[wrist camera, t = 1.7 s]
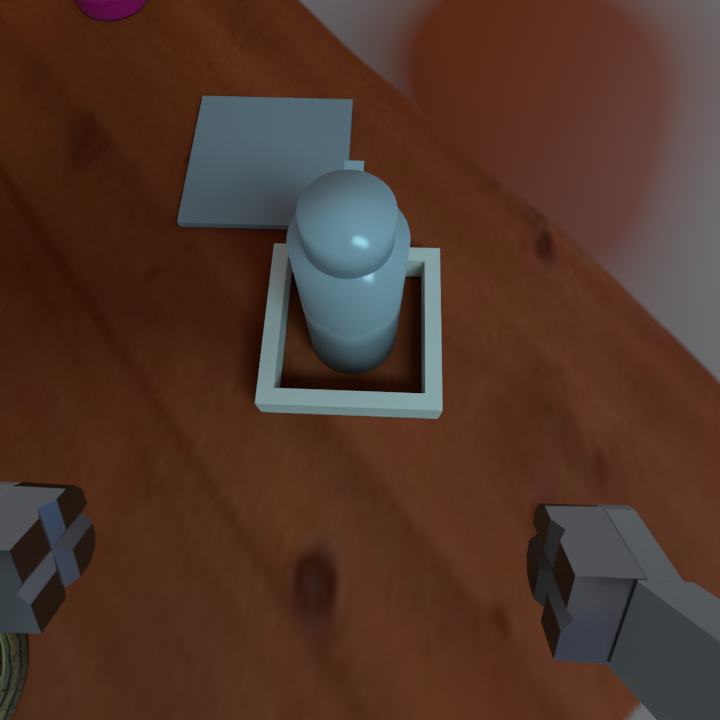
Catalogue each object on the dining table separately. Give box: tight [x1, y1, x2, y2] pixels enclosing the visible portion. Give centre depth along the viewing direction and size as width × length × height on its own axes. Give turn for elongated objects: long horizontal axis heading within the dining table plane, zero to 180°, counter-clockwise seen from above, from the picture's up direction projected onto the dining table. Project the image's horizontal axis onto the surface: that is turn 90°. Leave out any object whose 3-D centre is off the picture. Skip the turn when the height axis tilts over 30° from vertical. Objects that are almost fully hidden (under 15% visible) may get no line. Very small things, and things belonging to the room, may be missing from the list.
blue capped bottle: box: [286, 160, 410, 374], centre depth 27 cm, size 6×8×13 cm
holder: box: [255, 243, 442, 419], centre depth 31 cm, size 11×11×2 cm
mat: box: [177, 96, 353, 230], centre depth 37 cm, size 12×12×1 cm
